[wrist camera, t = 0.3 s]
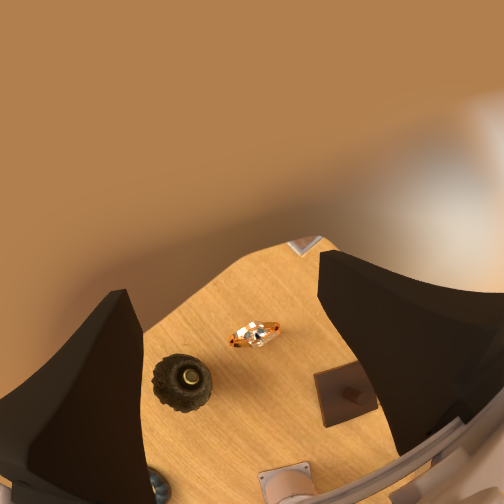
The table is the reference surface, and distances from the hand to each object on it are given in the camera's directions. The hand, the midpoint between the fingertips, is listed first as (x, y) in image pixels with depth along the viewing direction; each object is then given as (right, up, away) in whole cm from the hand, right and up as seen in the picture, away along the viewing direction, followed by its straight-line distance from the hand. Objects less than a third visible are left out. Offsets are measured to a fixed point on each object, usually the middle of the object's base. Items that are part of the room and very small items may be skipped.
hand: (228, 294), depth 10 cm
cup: (-8, -17, +27) cm, 32 cm away
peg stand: (+15, -20, +26) cm, 36 cm away
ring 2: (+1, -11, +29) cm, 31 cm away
